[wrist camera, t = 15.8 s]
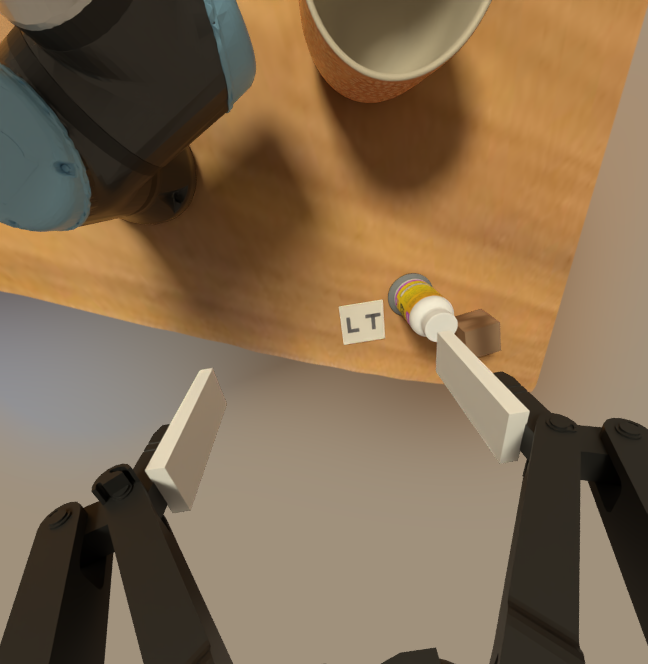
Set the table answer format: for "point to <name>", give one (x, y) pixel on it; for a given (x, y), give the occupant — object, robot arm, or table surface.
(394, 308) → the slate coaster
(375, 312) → the tile
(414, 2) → the planter
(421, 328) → the supplement bottle
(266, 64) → the table surface
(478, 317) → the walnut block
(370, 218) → the table surface
